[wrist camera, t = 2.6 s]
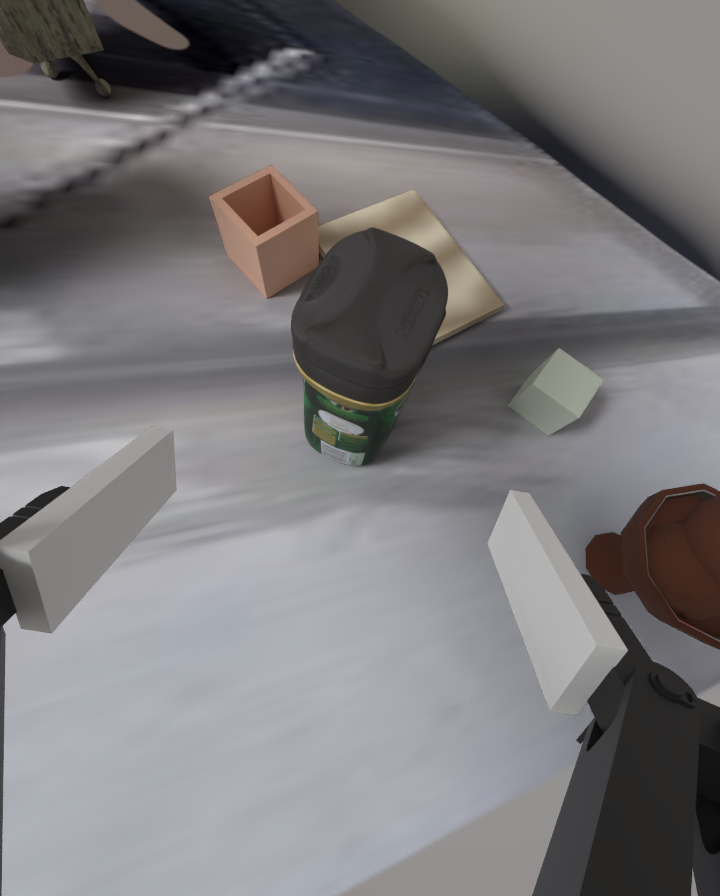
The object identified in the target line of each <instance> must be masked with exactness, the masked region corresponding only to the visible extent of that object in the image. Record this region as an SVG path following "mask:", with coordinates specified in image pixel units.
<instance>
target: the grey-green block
mask: <svg viewBox="0 0 720 896" xmlns="http://www.w3.org/2000/svg"><path fill="white" fill-rule="evenodd" d="M603 381H604V379H603V378H601V377H600V376H598V375H597V374H595V373H594V372H593V371H591V370H590V369H588V368H587V367H585V366H584V365H583V364H581V363H580V362H578V361H577V360H575V359H574V358H573V357H571V356H570V355H568V354H567V353H566V352H564V351H563V350H561V349H560V348H558V349H557V350H556V351H555V352H554V353H553V354H552V355H550V356H549V357H548V358H547V359H546V360H545V361H544V362H543V363H542V364H541V365H540V366H539V367H538V368H536V369H535V370H534V371H533V372H532V373H531V374H530V376H529V377H528V378H527V380H526V381H525V383H524V384H523V385H522V387H521V388H520V389H519V391H518V392H517V393H516V395H515V396H514V397H513V399H512V400H511V402H510V403H509V404H508V407H510V408H511V409H512V410H514V411H515V412H516V413H518V414H519V415H520V416H522V417H523V418H524V419H526V420H527V421H528V422H530V423H531V424H533V425H534V426H535V427H537V428H538V429H539V430H541V431H542V432H543V433H545V434H546V435H547V436H549V435H551V434H552V433H554V432H556V431H557V430H559V429H561V428H563V427H564V426H566V425H568V424H570V423H571V422H573V421H575V420H576V419H578V418H580V416H581V415H582V413H583V411H584V410H585V408H586V407H587V405H588V404H589V402H590V401H591V399H592V398H593V396H594V395H595V393H596V391H597V390H598V388H599V387H600V385H601V384H602V382H603Z"/></svg>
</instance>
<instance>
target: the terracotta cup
mask: <svg viewBox="0 0 720 896" xmlns="http://www.w3.org/2000/svg"><path fill="white" fill-rule="evenodd" d="M209 198H210V201H211V204H212V208H213V211H214V214H215V217H216V221H217V224H218V227H219V230H220V234H221V237H222V240H223V243H224V247H225V250H226V253H227V256H228V257H229V258H230V259H231V260H232V261H233V262H234V263H235V264H236V266H237V267H238V268H239V269H240V270H241V271H242V272H243V273H244V274H245V275H246V277H247V278H248V279H249V280H250V281H251V282H252V283H253V284H254V285H255V286H256V288H257V289H258V290H259V291H260V292H261V293H262V294H263V295H264V296H265V297H266V298H267V299H268V298H269V297H271V296H273V295H274V294H276V293H277V292H279V291H281V290H282V289H284V288H286V287H287V286H289V285H290V284H292V283H294V282H295V281H297V280H298V279H300V278H302V277H303V276H305V275H306V274H308V273H310V272H311V271H313V270H315V269H316V268H317V267H318V265H319V244H318V211H317V210H316V209H315V208H314V207H313V206H312V205H311V204H310V203H309V202H308V201H307V200H306V199H305V198H304V197H303V196H302V195H301V194H300V193H299V192H298V191H297V190H296V189H295V188H294V187H293V186H292V185H291V184H290V183H289V182H288V181H287V180H286V179H285V178H284V177H283V176H282V175H281V174H280V173H279V172H278V171H277V170H276V169H275V168H274V167H273V166H272V165H270V166H268V167H266V168H264V169H262V170H260V171H258V172H256V173H254V174H252V175H250V176H248V177H246V178H244V179H242V180H240V181H238V182H236V183H234V184H232V185H230V186H228V187H226V188H224V189H222V190H220V191H218V192H216V193H215V194H213V195H211V196H209Z"/></svg>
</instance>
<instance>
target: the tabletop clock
mask: <svg viewBox="0 0 720 896" xmlns="http://www.w3.org/2000/svg"><path fill="white" fill-rule="evenodd" d="M0 41H1V42H2V44H3V45H4V47H5V48H6V49H7V51H8V53H9V54H11V55H14V56H17V57H19V58H22V59H24V60H27V61H29V62H32V63H34V64H35V63H40V62H41V68H42V70H43V72H44V73H45V74H46V75H47V76H48V77H50V78H56V77H57V76H58V69H57V67H56V65H55V64H54V63H53V62H52V61H51V60H56V59H61V58H67V57H70V58H72V59H73V60H75V61H76V62H77V63H78V64H79V65H80V66H81V67H82V68H83V69H84V70H85V71H86V72H87V73H88V74H89V75H90V76H91V78H92V79H93V80H94V81H95V88H96V90H97V91H98V93H99V94H101V95H102V96H104V97H109V96H110V94H111V87H110V85H109V84H108V83H107V82H106V81H105V80H104V79H102V78H99V79H98V77H97V76H96V74H95V73H94V72H93V70H92V69H91V68H90V66H89V65H88V63H87V62H86V61H85V59H84V57H83V56H82V55H83V54H88V53H93V52H99V51H104V49H103V46H102V44H101V41H100V39H99V36H98V34H97V32H96V29H95V27H94V24H93V22H92V19H91V17H90V15H89V12H88V10H87V8H86V5H85V3H84V0H0Z"/></svg>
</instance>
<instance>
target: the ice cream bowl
mask: <svg viewBox="0 0 720 896" xmlns="http://www.w3.org/2000/svg"><path fill="white" fill-rule="evenodd" d="M586 568H587V570H588V571H589V573H590V575H591V576H592V578H593V579H594V580H595V581H596V582H597V583H598V584H599V585H600V586H601V587H602V588H604V589H605V590H607V591H609V592H611V593H613V594H615V595H617V594H622V593H627V592H631V591H635V592H636V594H637V595H638V597H639V598H640V600H641V601H642V603H643V605H644V606H645V608H646V609H647V611H648V612H649V613H651V614H652V615H653V616H654V617H656V618H657V619H658V620H660V621H662V622H664V623H666V624H668V625H670V626H672V627H674V628H676V629H678V630H680V631H682V632H683V633H685V634H687V635H689V636H691V637H693V638H695V639H697V640H699V641H701V642H703V643H705V644H708V645H710V646H713V647H715V648H717V649H720V491H718V490H716V489H714V488H712V487H710V486H708V485H706V484H704V483H703V484H697V485H691V486H685V487H679V488H673V489H667V490H662V491H660V492H658V493H656V494H654V495H652V496H650V497H648V498H647V499H646V500H645V501H644V502H643V503H642V504H641V505H640V507H639V508H638V510H637V511H636V512H635V514H634V515H633V517H632V518H631V519H630V521H629V522H628V524H627V525H626V526H625V528H624V529H623V531H622V532H621V536H620V535H618V534H616V533H606V534H600V535H595V537H594V538H593V540H592V541H591V542H590V544H589V545H588V546H587V548H586Z"/></svg>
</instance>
